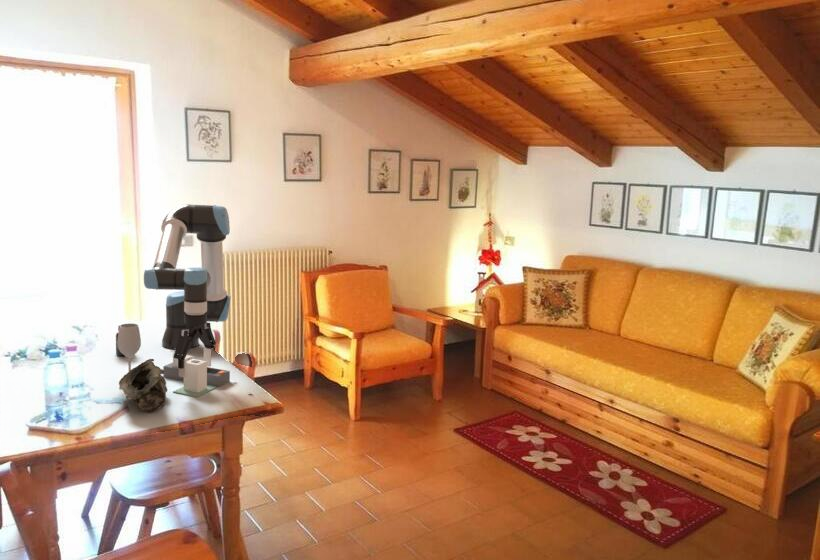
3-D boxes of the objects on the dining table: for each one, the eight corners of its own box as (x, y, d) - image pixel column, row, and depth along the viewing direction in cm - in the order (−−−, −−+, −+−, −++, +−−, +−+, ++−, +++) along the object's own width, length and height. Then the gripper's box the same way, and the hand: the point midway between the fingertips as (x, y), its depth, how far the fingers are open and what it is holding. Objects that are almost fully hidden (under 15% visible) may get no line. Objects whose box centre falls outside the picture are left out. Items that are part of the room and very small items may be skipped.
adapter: (181, 366, 243) (181, 354, 242) (192, 368, 241) (192, 356, 240) (173, 370, 238) (173, 357, 237) (184, 372, 237) (184, 359, 236)
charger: (192, 385, 230) (192, 357, 228) (206, 388, 228) (207, 360, 226) (183, 389, 225) (183, 361, 224) (197, 392, 223) (198, 364, 222)
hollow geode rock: (151, 432, 201) (186, 397, 203) (118, 409, 195) (155, 373, 198) (147, 399, 226) (178, 368, 228) (118, 377, 220) (150, 345, 222)
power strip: (148, 373, 241) (148, 362, 240) (160, 368, 247) (160, 357, 247) (218, 387, 231) (218, 375, 231) (229, 381, 238) (229, 369, 237)
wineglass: (136, 377, 236) (135, 321, 232) (144, 383, 231) (144, 326, 227) (115, 381, 231) (113, 324, 227) (123, 387, 225) (122, 329, 222)
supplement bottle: (112, 355, 259) (111, 327, 257) (122, 351, 266) (122, 323, 264) (127, 357, 258) (127, 328, 256) (137, 353, 265) (137, 324, 263)
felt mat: (193, 383, 233) (193, 382, 233) (216, 387, 230) (216, 386, 230) (173, 392, 223) (173, 391, 223) (197, 397, 220) (197, 396, 220)
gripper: (208, 304, 235) (208, 359, 239) (161, 318, 212) (162, 379, 215) (226, 307, 233) (225, 363, 236) (180, 321, 209) (180, 383, 213)
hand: (195, 371), depth 226 cm, fingers open, 13 cm apart
